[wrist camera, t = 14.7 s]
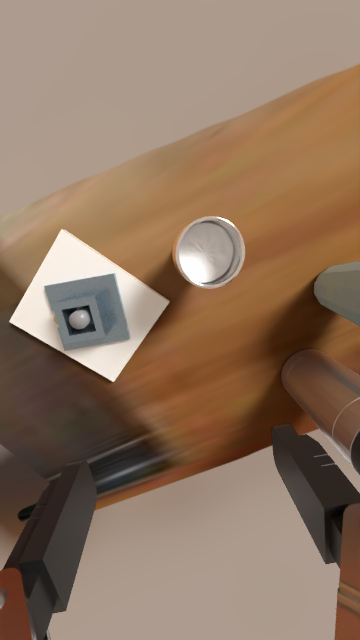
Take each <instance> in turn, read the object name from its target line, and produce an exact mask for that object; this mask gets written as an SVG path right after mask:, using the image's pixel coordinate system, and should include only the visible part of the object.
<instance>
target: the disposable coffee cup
mask: <svg viewBox="0 0 360 640" xmlns="http://www.w3.org/2000/svg"><path fill="white" fill-rule="evenodd" d="M314 294H315V296H316V298H317V299H318V301H319V303H320V304H321V305H323V306H325V307H326V308H328V309H330V310H332V311H334V312H335V313H337V314H339V315H341V316H342V317H344V318H346V319H348V320H350V321H351V322H353V323H355V324H357V325H359V326H360V261H357V262H351V263H346V264H341V265H335V266H331V267H329V268H328V269H326V270H325V271H323V272H322V273H321V274H319V276H318V278H317V280H316V282H315V283H314Z"/></svg>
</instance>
